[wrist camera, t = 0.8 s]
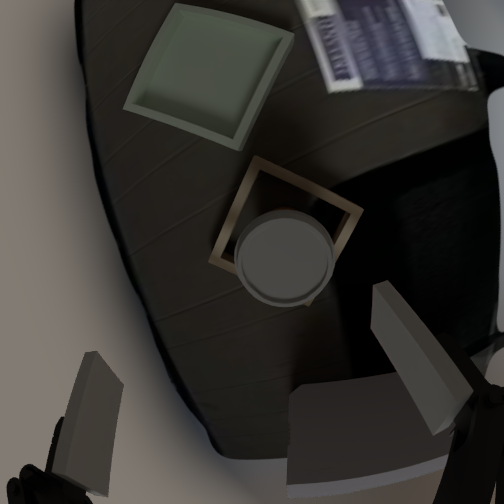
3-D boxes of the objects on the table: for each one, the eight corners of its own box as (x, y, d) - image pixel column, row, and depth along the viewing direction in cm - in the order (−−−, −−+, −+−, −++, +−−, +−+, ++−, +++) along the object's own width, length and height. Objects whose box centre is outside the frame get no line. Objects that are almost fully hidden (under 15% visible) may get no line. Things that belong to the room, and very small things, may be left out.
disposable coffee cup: (333, 212, 36) (355, 240, 24) (301, 276, 39) (307, 324, 28) (264, 181, 35) (256, 194, 24) (236, 248, 39) (217, 288, 27)
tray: (183, 13, 28) (175, 3, 25) (293, 44, 29) (294, 33, 26) (135, 111, 34) (122, 109, 30) (241, 151, 34) (237, 150, 31)
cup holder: (256, 155, 34) (254, 155, 32) (358, 205, 35) (363, 209, 33) (212, 255, 39) (208, 261, 37) (307, 297, 40) (309, 306, 38)
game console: (427, 384, 44) (461, 462, 25) (290, 405, 48) (288, 499, 29) (434, 362, 42) (475, 443, 23) (289, 384, 46) (286, 485, 27)
